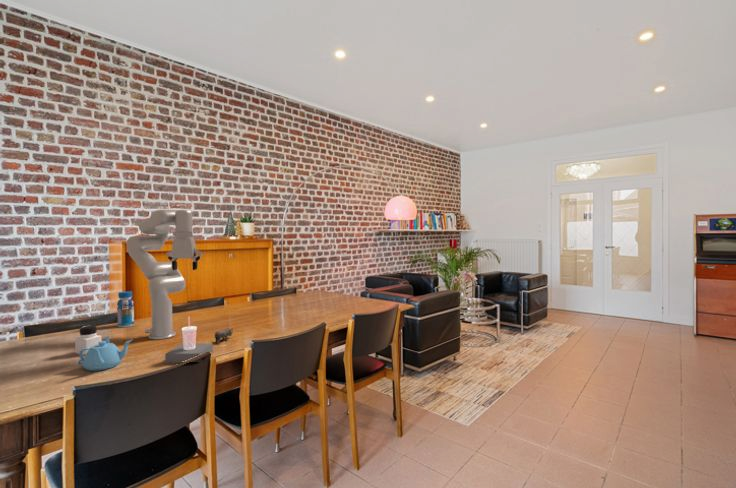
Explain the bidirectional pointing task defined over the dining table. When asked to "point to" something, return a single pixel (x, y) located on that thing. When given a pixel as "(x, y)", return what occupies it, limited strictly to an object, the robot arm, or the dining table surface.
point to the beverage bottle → (125, 309)
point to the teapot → (102, 356)
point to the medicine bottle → (87, 339)
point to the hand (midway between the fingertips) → (184, 269)
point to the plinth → (187, 352)
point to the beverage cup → (189, 336)
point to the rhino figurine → (223, 334)
